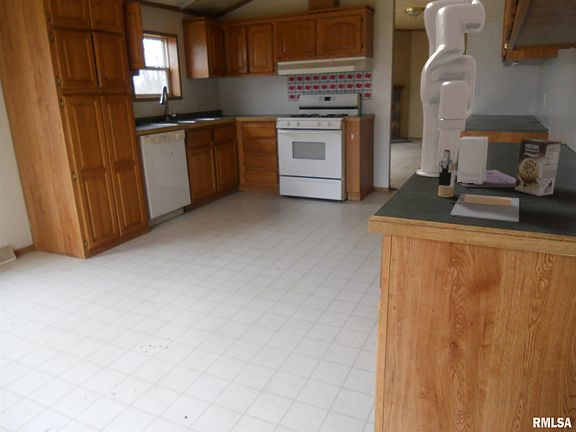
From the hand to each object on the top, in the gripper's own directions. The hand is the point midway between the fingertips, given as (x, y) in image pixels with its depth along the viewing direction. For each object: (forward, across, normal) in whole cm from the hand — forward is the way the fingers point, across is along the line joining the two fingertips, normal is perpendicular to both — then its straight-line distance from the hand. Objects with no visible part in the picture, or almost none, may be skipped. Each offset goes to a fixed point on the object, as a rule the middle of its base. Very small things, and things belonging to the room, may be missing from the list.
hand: (446, 182), depth 132 cm
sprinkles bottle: (+5, 0, 0) cm, 5 cm away
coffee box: (+5, -15, +24) cm, 29 cm away
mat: (+4, +9, +12) cm, 16 cm away
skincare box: (+5, -23, +5) cm, 24 cm away
